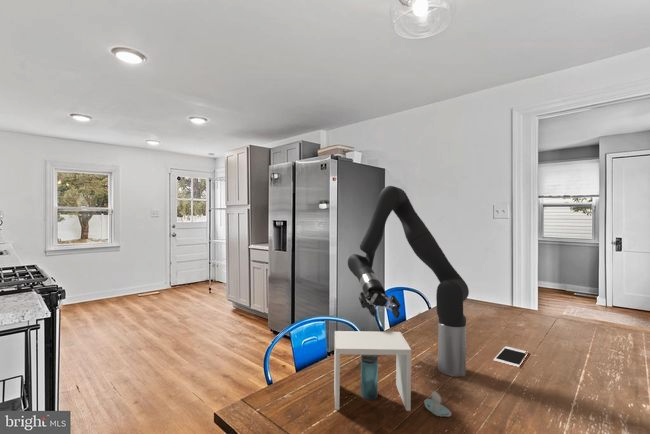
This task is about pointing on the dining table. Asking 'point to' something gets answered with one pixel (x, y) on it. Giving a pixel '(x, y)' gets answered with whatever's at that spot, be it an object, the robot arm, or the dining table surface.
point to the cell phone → (511, 356)
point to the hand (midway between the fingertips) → (386, 315)
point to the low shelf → (375, 346)
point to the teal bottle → (369, 376)
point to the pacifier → (436, 406)
